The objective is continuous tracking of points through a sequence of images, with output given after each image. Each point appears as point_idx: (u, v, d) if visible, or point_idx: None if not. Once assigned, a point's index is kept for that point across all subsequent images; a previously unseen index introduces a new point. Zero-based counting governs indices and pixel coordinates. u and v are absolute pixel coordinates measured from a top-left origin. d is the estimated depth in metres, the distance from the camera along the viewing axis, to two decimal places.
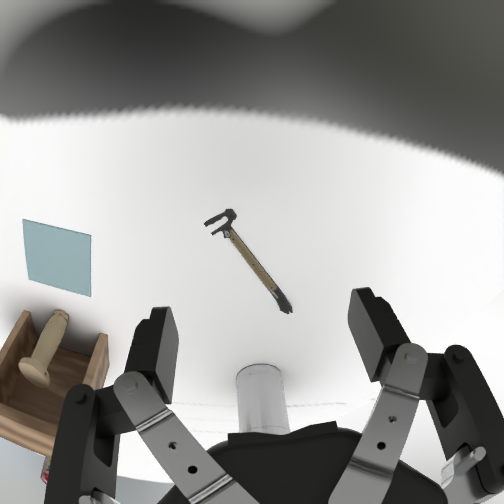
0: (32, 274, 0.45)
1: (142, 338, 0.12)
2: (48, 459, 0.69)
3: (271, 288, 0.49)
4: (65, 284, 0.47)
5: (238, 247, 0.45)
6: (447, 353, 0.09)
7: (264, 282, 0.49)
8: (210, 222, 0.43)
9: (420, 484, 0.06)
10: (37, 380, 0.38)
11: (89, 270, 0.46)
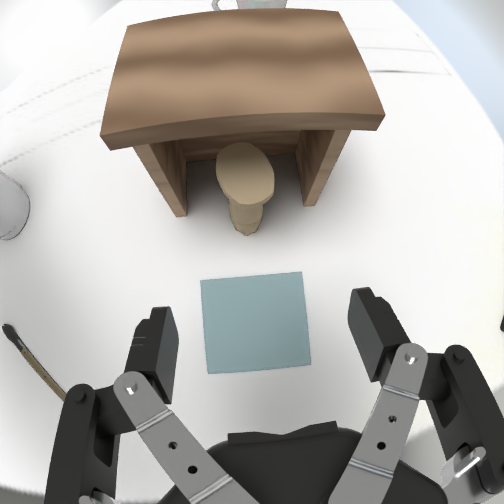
0: (294, 283, 0.40)
1: (142, 338, 0.12)
2: None
3: (24, 351, 0.37)
4: (239, 286, 0.40)
5: (61, 393, 0.36)
6: (447, 353, 0.09)
7: (31, 357, 0.37)
8: None
9: (420, 484, 0.06)
10: (237, 162, 0.28)
11: (204, 323, 0.39)
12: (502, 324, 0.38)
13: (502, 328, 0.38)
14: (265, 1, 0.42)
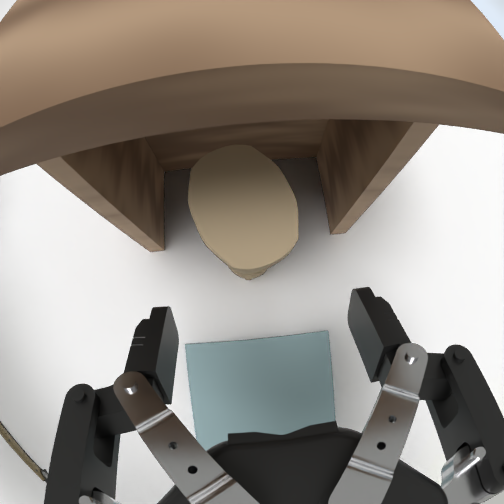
0: (318, 348, 0.27)
1: (142, 338, 0.12)
2: None
3: None
4: (240, 353, 0.27)
5: (28, 461, 0.24)
6: (447, 353, 0.09)
7: None
8: None
9: (420, 484, 0.06)
10: (228, 183, 0.15)
11: (192, 402, 0.26)
12: None
13: None
14: None
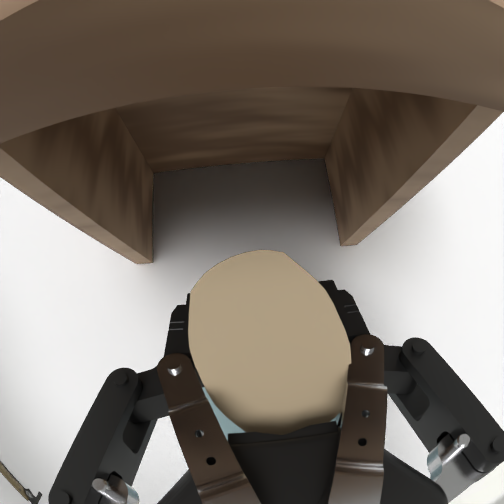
0: None
1: (179, 323, 0.12)
2: None
3: None
4: None
5: (11, 479, 0.20)
6: (405, 349, 0.10)
7: None
8: None
9: (420, 484, 0.06)
10: (250, 319, 0.10)
11: None
12: None
13: None
14: None
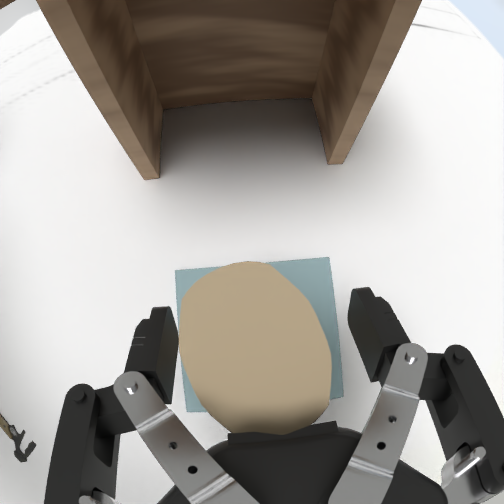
0: (319, 275, 0.26)
1: (142, 338, 0.12)
2: None
3: None
4: None
5: None
6: (447, 353, 0.09)
7: None
8: (31, 445, 0.22)
9: (420, 484, 0.06)
10: (236, 326, 0.10)
11: None
12: None
13: None
14: None
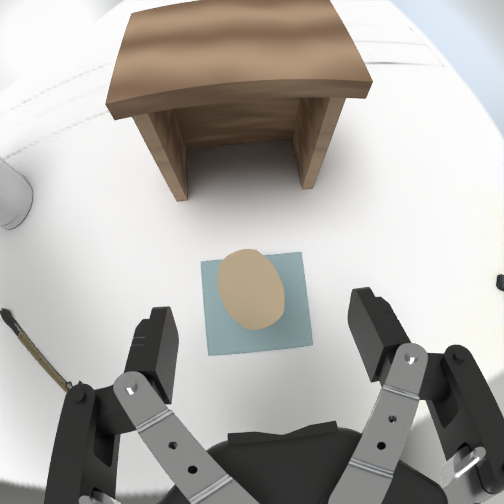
0: (294, 264, 0.40)
1: (142, 338, 0.12)
2: None
3: (21, 335, 0.37)
4: None
5: (56, 375, 0.36)
6: (447, 353, 0.09)
7: (27, 340, 0.37)
8: None
9: (420, 484, 0.06)
10: (242, 276, 0.25)
11: (204, 304, 0.39)
12: None
13: None
14: None
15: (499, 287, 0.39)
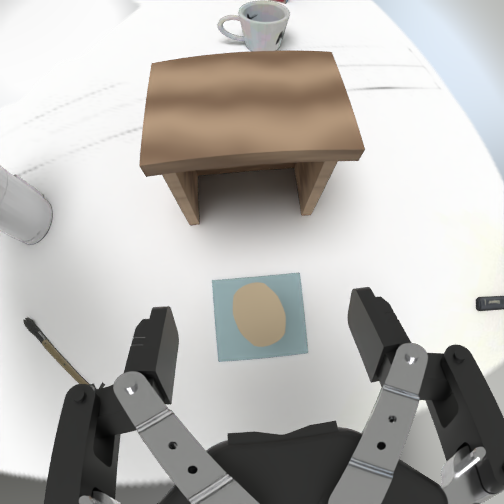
0: (293, 283, 0.46)
1: (142, 338, 0.12)
2: None
3: (45, 342, 0.43)
4: None
5: (80, 378, 0.42)
6: (447, 353, 0.09)
7: (51, 347, 0.43)
8: None
9: (420, 484, 0.06)
10: (252, 304, 0.31)
11: (215, 317, 0.45)
12: None
13: None
14: (267, 24, 0.49)
15: (479, 309, 0.45)
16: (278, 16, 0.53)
